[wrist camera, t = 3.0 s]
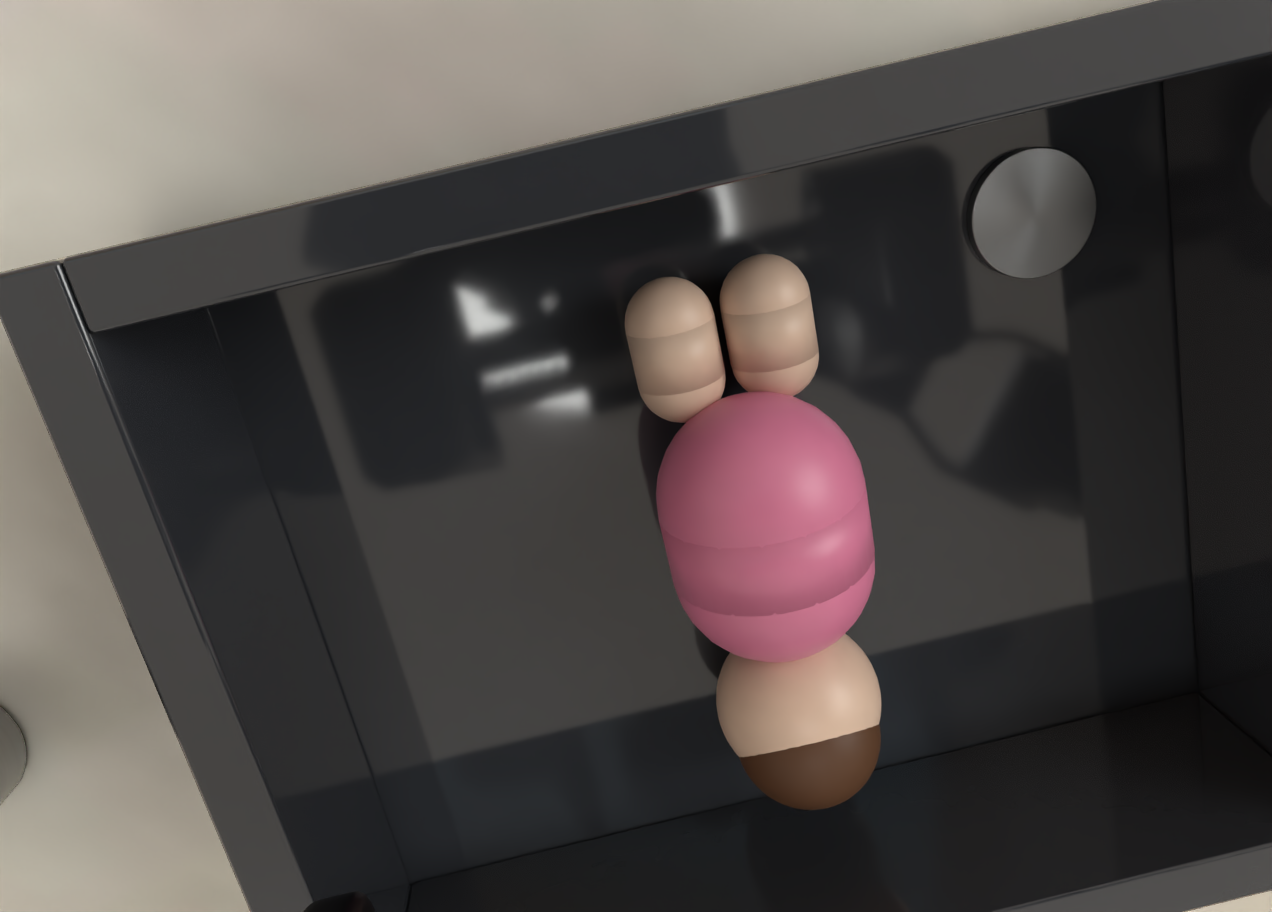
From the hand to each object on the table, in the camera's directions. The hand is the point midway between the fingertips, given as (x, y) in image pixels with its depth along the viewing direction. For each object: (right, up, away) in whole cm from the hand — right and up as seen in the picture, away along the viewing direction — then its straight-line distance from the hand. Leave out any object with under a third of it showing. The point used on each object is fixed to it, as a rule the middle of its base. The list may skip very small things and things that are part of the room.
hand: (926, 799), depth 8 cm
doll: (-1, +2, +7) cm, 8 cm away
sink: (-1, +2, +8) cm, 8 cm away
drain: (+3, +6, +6) cm, 9 cm away
